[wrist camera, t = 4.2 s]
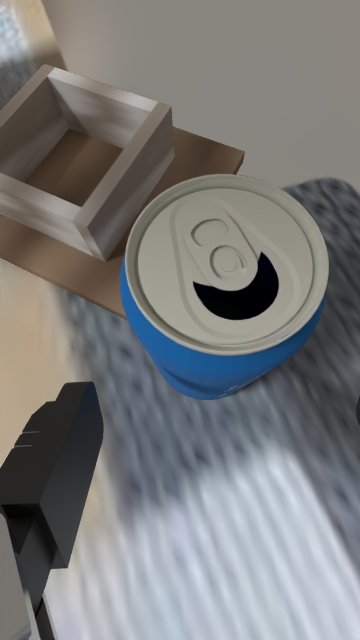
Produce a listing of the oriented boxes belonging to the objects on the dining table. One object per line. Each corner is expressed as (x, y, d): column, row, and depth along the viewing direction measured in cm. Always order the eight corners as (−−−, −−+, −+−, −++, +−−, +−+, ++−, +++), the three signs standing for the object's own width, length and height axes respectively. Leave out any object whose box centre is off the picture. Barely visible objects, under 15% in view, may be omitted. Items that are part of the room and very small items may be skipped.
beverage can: (181, 418, 18) (165, 418, 7) (141, 327, 20) (77, 210, 9) (273, 373, 19) (397, 305, 8) (226, 289, 21) (268, 135, 10)
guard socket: (-73, 222, 24) (-139, 172, 19) (44, 91, 28) (14, 24, 23) (148, 330, 20) (135, 302, 15) (242, 162, 24) (255, 100, 20)
